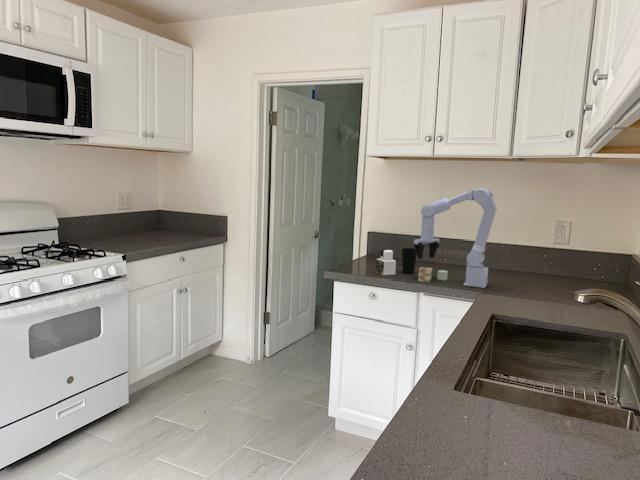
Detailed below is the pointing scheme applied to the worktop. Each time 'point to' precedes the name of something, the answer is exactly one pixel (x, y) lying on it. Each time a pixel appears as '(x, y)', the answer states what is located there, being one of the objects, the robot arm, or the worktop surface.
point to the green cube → (442, 275)
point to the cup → (408, 260)
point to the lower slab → (424, 278)
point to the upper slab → (425, 271)
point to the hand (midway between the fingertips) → (425, 258)
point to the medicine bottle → (386, 263)
